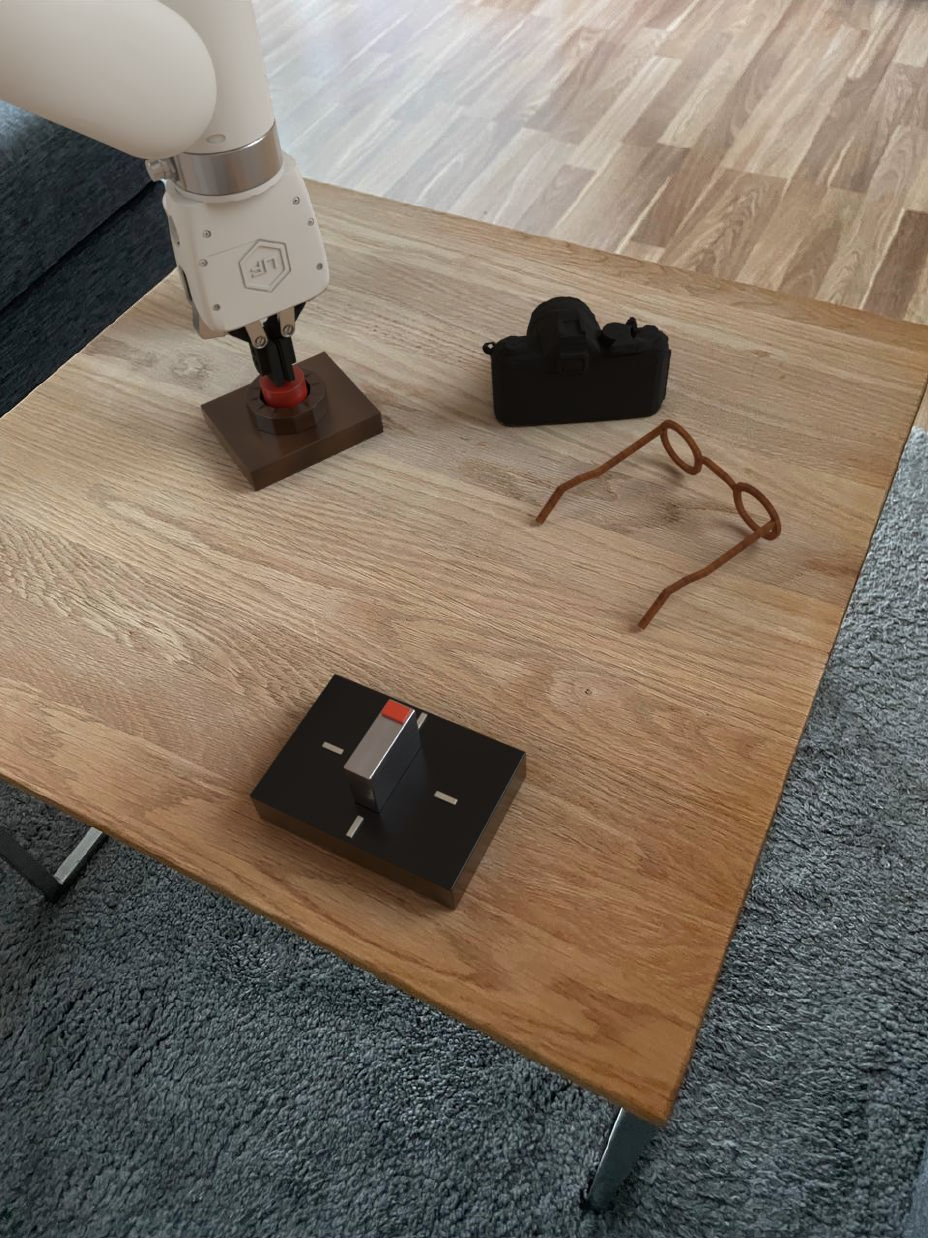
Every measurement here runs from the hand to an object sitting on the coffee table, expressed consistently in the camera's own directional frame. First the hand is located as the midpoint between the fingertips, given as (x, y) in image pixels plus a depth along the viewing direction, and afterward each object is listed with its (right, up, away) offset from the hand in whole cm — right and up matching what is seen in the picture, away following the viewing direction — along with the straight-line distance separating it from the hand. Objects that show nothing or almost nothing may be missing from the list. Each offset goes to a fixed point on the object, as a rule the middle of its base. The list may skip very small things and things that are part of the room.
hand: (278, 374), depth 82 cm
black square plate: (+11, -31, -17) cm, 37 cm away
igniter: (0, -3, +5) cm, 6 cm away
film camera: (+24, 0, +6) cm, 25 cm away
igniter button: (0, -1, +2) cm, 2 cm away
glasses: (+29, -14, -5) cm, 33 cm away
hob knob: (+10, -29, -20) cm, 37 cm away
